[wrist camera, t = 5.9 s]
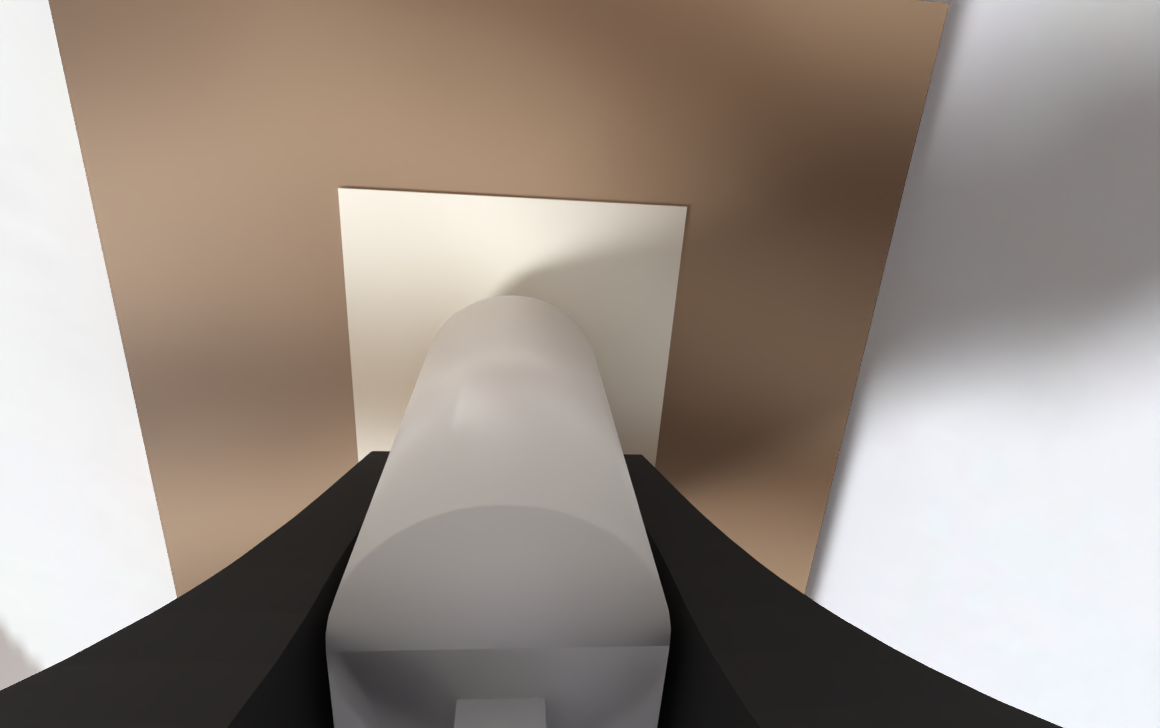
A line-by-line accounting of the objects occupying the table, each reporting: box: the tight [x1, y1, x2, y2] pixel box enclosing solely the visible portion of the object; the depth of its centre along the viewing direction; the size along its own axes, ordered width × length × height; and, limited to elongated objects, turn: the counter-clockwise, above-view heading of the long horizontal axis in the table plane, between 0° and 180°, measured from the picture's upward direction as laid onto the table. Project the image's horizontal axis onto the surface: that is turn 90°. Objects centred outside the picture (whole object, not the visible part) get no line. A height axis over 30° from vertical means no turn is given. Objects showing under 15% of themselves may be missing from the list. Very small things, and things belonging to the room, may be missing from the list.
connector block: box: [326, 295, 671, 728], centre depth 9 cm, size 6×3×7 cm, turn 176°
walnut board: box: [49, 0, 949, 598], centre depth 13 cm, size 16×14×1 cm
